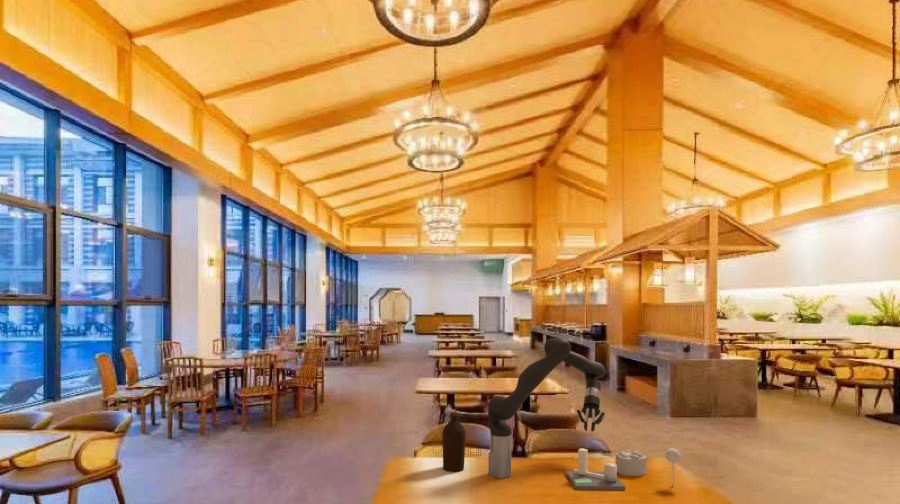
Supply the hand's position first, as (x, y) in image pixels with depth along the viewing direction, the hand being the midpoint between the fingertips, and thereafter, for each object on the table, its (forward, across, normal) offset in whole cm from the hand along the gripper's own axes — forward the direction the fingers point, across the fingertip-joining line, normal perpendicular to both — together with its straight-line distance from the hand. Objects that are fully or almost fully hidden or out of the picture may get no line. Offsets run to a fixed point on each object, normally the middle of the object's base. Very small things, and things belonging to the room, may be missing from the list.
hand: (589, 430), depth 248 cm
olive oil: (+33, -56, -10) cm, 65 cm away
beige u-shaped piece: (+24, +5, -4) cm, 25 cm away
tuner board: (+26, +5, -4) cm, 27 cm away
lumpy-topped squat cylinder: (+12, +19, +11) cm, 25 cm away
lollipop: (+20, +36, +3) cm, 41 cm away
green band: (+29, +1, -9) cm, 31 cm away
